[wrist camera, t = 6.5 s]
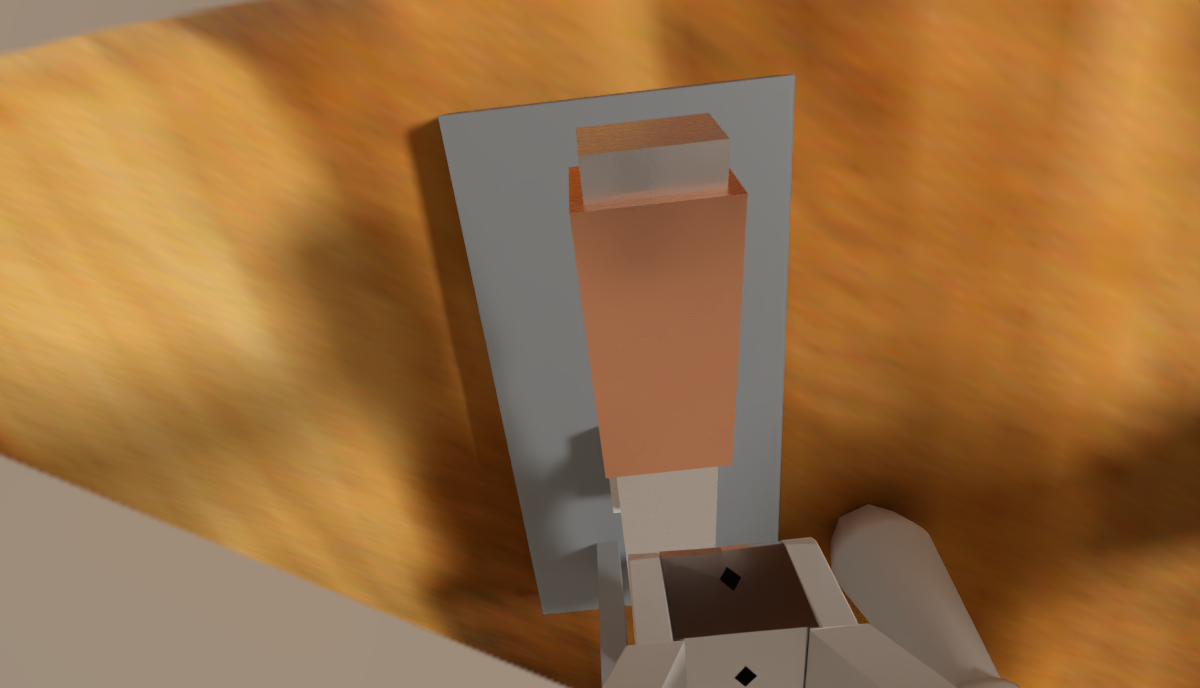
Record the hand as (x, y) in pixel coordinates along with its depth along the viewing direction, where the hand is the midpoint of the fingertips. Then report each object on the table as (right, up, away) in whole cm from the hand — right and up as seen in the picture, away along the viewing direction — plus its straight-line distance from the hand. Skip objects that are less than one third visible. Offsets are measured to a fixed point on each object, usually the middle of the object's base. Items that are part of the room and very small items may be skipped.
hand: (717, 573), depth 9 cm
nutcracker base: (0, +2, +21) cm, 21 cm away
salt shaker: (+14, -8, +26) cm, 30 cm away
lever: (0, -1, +12) cm, 12 cm away
